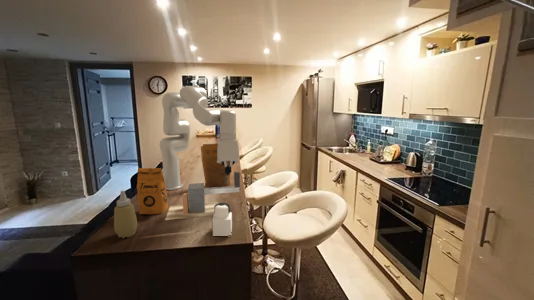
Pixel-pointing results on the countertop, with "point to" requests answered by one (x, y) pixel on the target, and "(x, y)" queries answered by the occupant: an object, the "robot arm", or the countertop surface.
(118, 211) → the squeeze bottle
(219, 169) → the pancake mix bag
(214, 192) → the l-shaped metal bar
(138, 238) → the countertop surface
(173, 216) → the board
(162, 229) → the countertop surface
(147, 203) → the coffee package
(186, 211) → the collar
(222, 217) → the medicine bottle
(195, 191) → the metal block
